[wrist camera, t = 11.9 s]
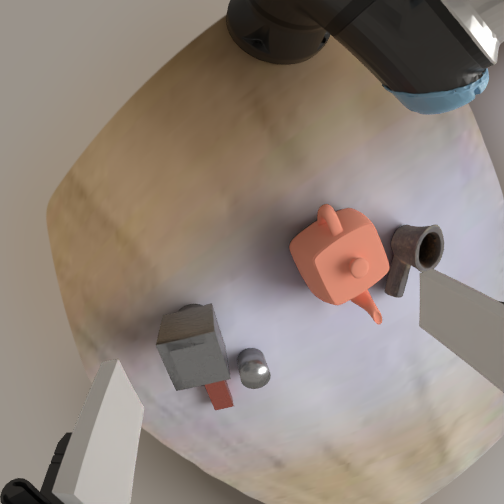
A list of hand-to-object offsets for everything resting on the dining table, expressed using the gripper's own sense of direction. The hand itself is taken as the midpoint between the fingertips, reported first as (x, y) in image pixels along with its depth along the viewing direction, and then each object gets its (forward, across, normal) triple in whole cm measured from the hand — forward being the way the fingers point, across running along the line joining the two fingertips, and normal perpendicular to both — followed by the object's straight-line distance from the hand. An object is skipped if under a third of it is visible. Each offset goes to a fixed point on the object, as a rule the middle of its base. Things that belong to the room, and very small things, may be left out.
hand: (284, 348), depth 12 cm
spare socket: (+32, -2, -22) cm, 39 cm away
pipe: (+32, +26, -11) cm, 43 cm away
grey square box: (+29, -8, -13) cm, 32 cm away
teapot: (+32, +14, -8) cm, 36 cm away
